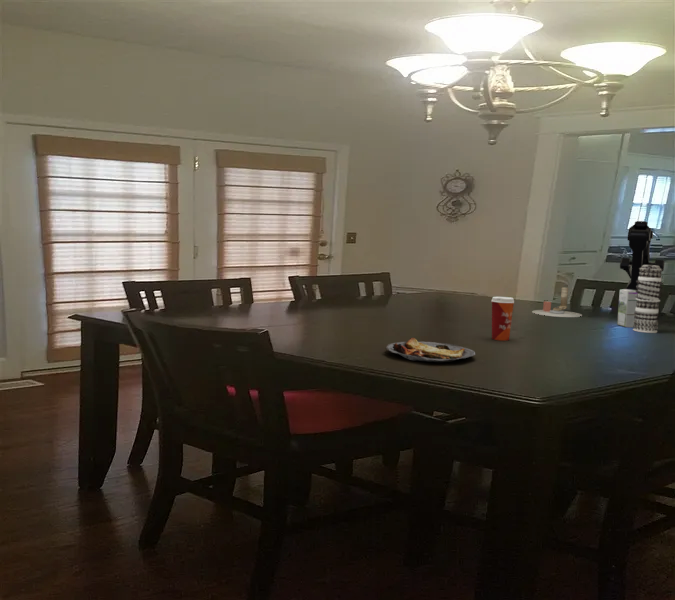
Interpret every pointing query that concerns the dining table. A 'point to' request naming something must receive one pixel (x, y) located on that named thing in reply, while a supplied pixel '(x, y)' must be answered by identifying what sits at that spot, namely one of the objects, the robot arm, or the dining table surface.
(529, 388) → the dining table surface
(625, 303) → the syrup box
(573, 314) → the dial plate
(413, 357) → the food plate
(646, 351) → the dining table surface
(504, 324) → the paper cup
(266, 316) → the dining table surface
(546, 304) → the stop block
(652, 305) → the decorative candle
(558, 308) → the crank
